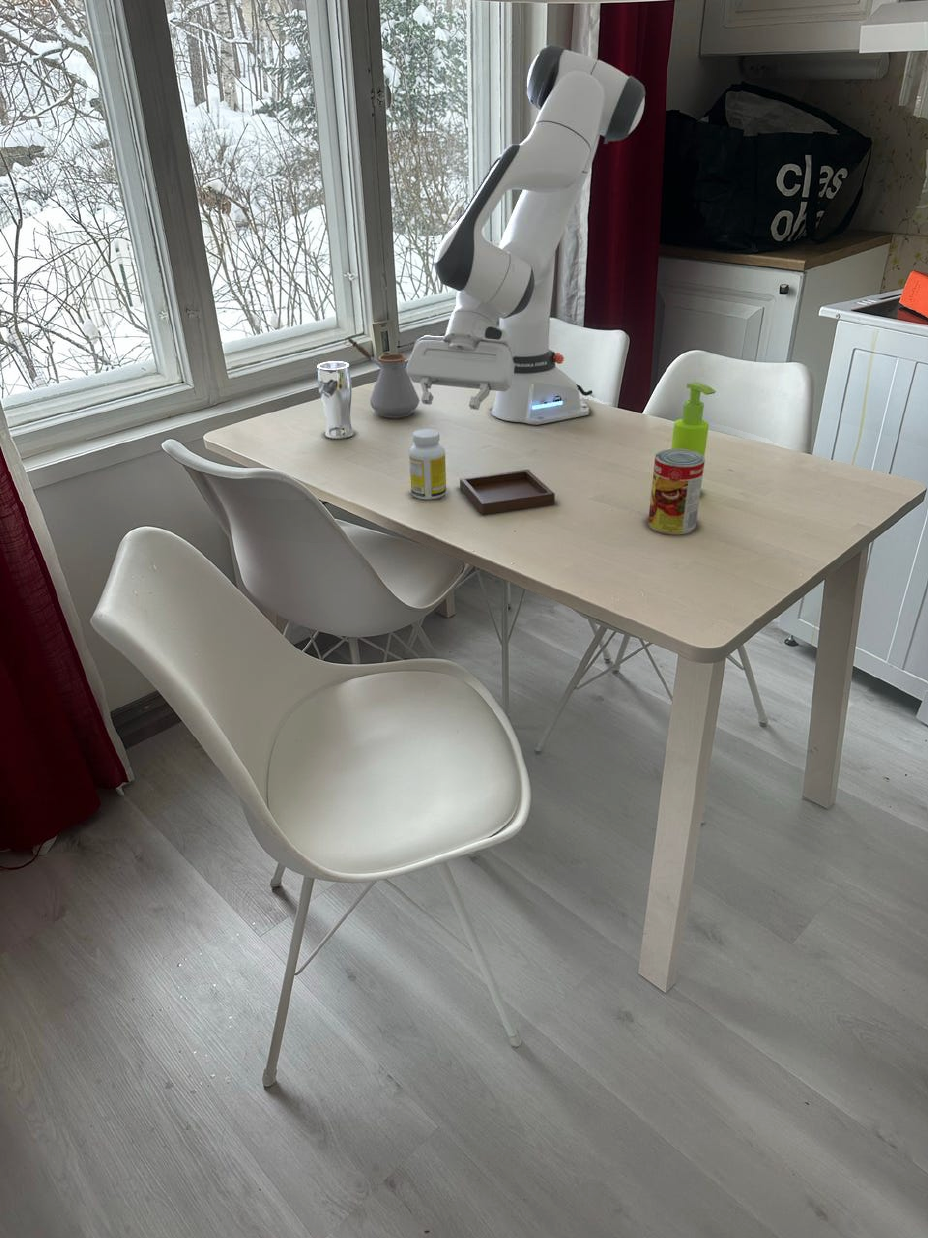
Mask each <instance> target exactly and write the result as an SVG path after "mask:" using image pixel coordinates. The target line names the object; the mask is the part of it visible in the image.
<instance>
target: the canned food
mask: <svg viewBox="0 0 928 1238" xmlns="http://www.w3.org/2000/svg"><path fill="white" fill-rule="evenodd" d="M705 461H706V457H705V456H703V455H701V454H700V453H697V452H695V451H691V450H685V449H671V448H670V449H669V448H668V449H663V450H660V451H658V452H656V454H655V455H654V464H653V471H652V472H653V473H652V484H651V493H650V502H649V510H648V511H649V512H648V520H647V525H648V527H650V529H652V530H653V531H656V532H659V533H662V534H667V535H685V534H690V533H691V532H693V531H695V529H696V526H697V519H698V511H699V504H700V499H701V489H702V483H703V475H704V469H705Z"/></svg>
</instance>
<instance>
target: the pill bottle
mask: <svg viewBox="0 0 928 1238" xmlns="http://www.w3.org/2000/svg"><path fill="white" fill-rule="evenodd" d="M412 440H413V441H412V442H413V443H414V444H413V445H412V446H411V447H410V449H409V450H408V459H409V477H410V493H411V494H412V496H413V497H415V498H417V499H419V500H426V501H427V500H429V501H430V500H436V499H440V498H442V497H443V496H444V495H446V492H447V474H446V473H447V472H446V471H447V470H446V450H445V447H443V445H442V444H440V443H439V442H440V431H439V430H436V429H432V428H421V429H417V430H415V431H413V433H412Z"/></svg>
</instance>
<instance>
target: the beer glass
mask: <svg viewBox="0 0 928 1238" xmlns="http://www.w3.org/2000/svg"><path fill="white" fill-rule="evenodd" d="M316 367H317V386H318V393H319V397H320V402H321V405H322V409H323V413H324V417H325V418H324V419H325V431H324V435H325V437H326V438H329V439H333V440H343V439H348V438H350V437H352V436H353V435H354V430H353V426H352V422H351V405H352V395H353V394H352V393H353V391H352V390H353V389H352V388H353V387H352V378H351V377H352V376H351V372H350V364H349V363H348V362H345V361H326V362H322V363H319V364H318V365H317V366H316Z"/></svg>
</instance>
